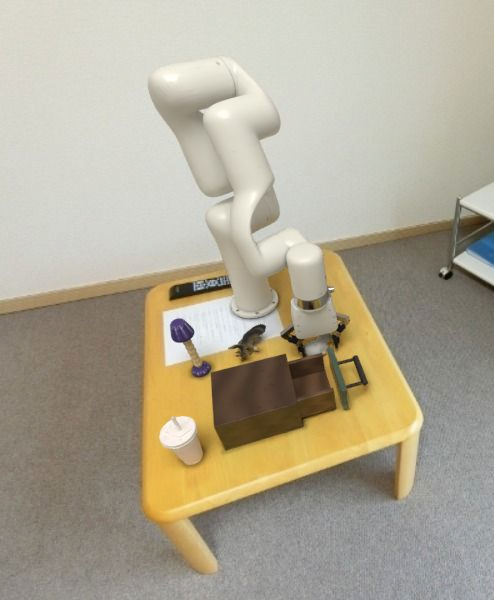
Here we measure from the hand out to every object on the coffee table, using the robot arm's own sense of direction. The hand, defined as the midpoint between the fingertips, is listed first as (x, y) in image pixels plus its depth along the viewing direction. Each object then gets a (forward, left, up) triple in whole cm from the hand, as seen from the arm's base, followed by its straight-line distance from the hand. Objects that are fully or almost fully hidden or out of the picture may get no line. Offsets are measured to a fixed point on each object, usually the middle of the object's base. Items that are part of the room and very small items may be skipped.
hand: (319, 348), depth 106 cm
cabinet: (+13, -16, -1) cm, 20 cm away
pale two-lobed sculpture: (0, 0, -1) cm, 1 cm away
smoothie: (+19, -30, -1) cm, 35 cm away
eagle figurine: (-6, -16, -1) cm, 17 cm away
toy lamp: (-3, -28, -1) cm, 28 cm away
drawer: (+13, -2, 0) cm, 13 cm away
